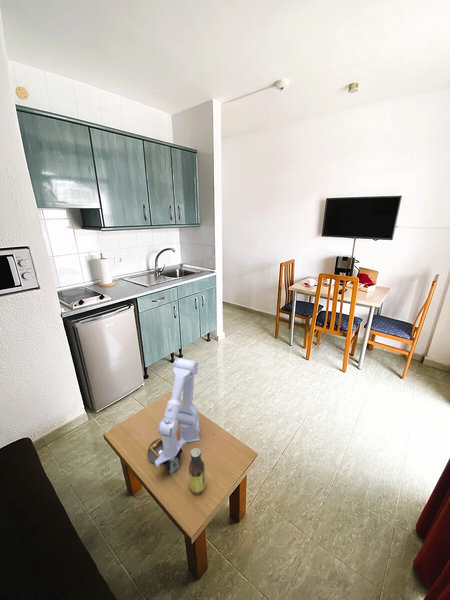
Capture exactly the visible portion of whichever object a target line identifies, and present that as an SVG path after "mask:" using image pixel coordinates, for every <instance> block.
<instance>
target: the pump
mask: <svg viewBox="0 0 450 600" xmlns="http://www.w3.org/2000/svg"><path fill="white" fill-rule="evenodd" d="M169 461H170V471H168V472H169V473H170V474H173V473H175V472H176V470H178V468H180V464H179V462H178V457H177V456H175V457H174V458H172V459H169Z"/></svg>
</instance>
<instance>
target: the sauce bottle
mask: <svg viewBox="0 0 450 600" xmlns="http://www.w3.org/2000/svg"><path fill="white" fill-rule="evenodd" d="M189 454H190V458H191V459H190V461H189V464H188V473H189V474H188V475H189V476H188V477H189V487H190V490H191V492H192V493H193V494H194V495H201V494H202V493H203V492H204V491H205V489H206V469H205V463H204V461H203V459H202V456H201V455H202V452H201V449H200V448H199V447H194V448H192V449H191V450H190V453H189Z"/></svg>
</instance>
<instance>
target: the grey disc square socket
mask: <svg viewBox="0 0 450 600" xmlns="http://www.w3.org/2000/svg"><path fill="white" fill-rule="evenodd" d="M162 451H163V442H162V437H160V438H158V439H155V440H154V441H152V442H151V443H150V445H148V448H147V456H148V461H149V462H150V463H151V464H153V465H155V461H156V460H157V459H158V457H159V456H160V454H161V453H162ZM161 465H164V464H163V463H161V464H160V466H161Z"/></svg>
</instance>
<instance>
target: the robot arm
mask: <svg viewBox="0 0 450 600" xmlns="http://www.w3.org/2000/svg"><path fill="white" fill-rule="evenodd" d="M198 366H199V364H198V362H197V360H191V359H186V358H180V357H177V358H175V360H174V361H173V364H172V373H173V375H174V381H173V385H172V391H171V396H170V399H169V400H168V401H166V407H165V409H164V415H163V418H162V419H161V421H160V422H159V424H158V426H157V427H158V429H157V433H158V435H160V438H162V442H163V451H162V453H161V454H160V456H159V457H158V459H157V460H156V461H155V464H154V466H156V468H159V467H160V466H161V465H164V467H165V469H166V470H167V472H169V471H170V461H169V459H172V458H174V457H175V456H177V457H178V463H179V462H180V458H181V455H182V454H183V448H182V447H183V446H185V445H186V443H191V442H198V441H201V440H200V438H201V437H200V434H201V429H200V423H199V422H200V420H199V410H198V407H197V406H196V405H194V401H193V399H194V386H195V385H194V384H195V376H197V375H198V372H199V371H198V370H199V368H198ZM181 396H182V401H180V399H181ZM179 425H180V426H179ZM178 427H180V436H179V438H180V439H179V440H177V431H178ZM161 463H163V464H161ZM160 464H161V465H160Z"/></svg>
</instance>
